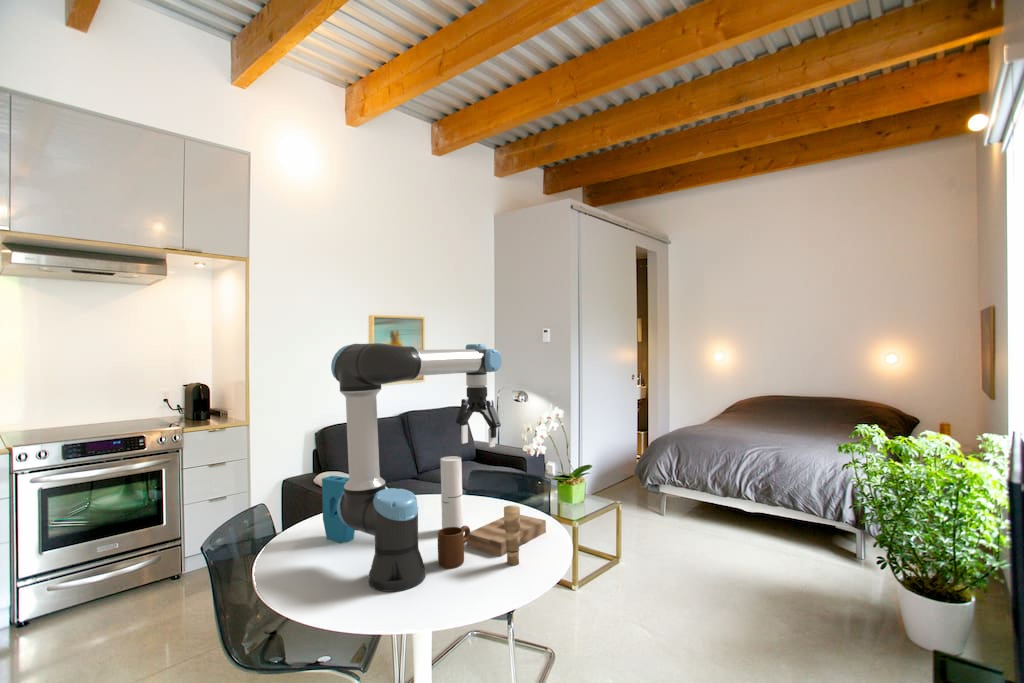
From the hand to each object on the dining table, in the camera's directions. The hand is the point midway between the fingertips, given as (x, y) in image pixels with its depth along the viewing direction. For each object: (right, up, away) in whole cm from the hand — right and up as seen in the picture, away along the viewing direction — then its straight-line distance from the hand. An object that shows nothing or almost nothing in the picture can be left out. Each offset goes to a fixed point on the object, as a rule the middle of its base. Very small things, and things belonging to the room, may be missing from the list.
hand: (478, 445), depth 188 cm
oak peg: (+13, -27, -38) cm, 48 cm away
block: (-45, -29, -15) cm, 56 cm away
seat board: (+11, -27, -19) cm, 35 cm away
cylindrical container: (-8, -28, -10) cm, 31 cm away
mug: (-4, -27, -35) cm, 45 cm away
